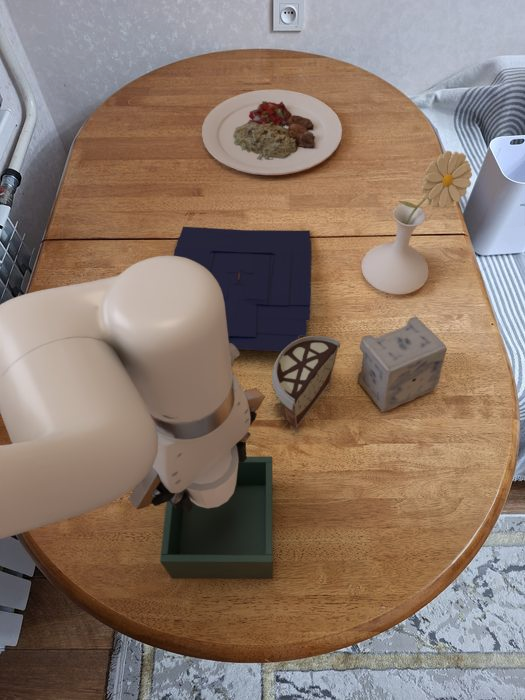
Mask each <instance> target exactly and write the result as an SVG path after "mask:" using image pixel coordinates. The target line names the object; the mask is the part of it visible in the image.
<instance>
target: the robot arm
mask: <svg viewBox="0 0 525 700" xmlns="http://www.w3.org/2000/svg"><path fill="white" fill-rule="evenodd" d="M239 356H240V351H239V349H237V348H236V347H235V346H234V345H233V344H232V343H229V339H228V330H227V321H226V312H225V303H224V298H223V294H222V290H221V288H220V286H219V284H218V282H217V280H216V279H215V278H214V276H213V275H212V274H211V273H210V272H209V271H208V270H207V269H206V268H205V267H203V266H202V265H200V264H198V263H197V262H195V261H192V260H190V259H187V258H184V257H179V256H173V255H157V256H152V257H149V258H145V259H142V260H140V261H138V262H135V263H133V264H131V265H130V266H129V267H128V268H126V269H125V270H123V271H122V272H121V273H119V274H118V275H115V276H111V277H110V276H109V277H105V278H100V279H96V280H92V281H85V282H80V283H74V284H68V285H64V286H63V285H62V286H58V287H57V286H56V287H51V288H46V289H41V290H35V291H33V292H29V293H24V294H22V295H18V296H16V297H12V298H11V299H10V298H9V299H8V300H6V301H4V302H3V303H1V304H0V415H1V418H2V421H3V424H4V427H5V429H6V432H7V434H8V438H9V439H10V442H11V443H10V444H1V445H0V540H2V539H6V538H9V537H13V536H16V535H21V534H24V533H26V532H31V531H33V530H37V529H40V528H43V527H47V526H51V525H54V524H57V523H59V522H60V523H61V522H63V521H66V520H70V519H73V518H76V517H79V516H81V515H84V514H87V513H90V512H92V511H94V510H97V509H99V508H102V507H105V506H107V505H109V504H111V503H113V502H115V501H117V500H118V499H121V498H122V497H123V496H125V495H127V494H128V493H129V492H131V491H132V492H131V494H130V495H129V497H128V501H129V502H130V503H131V504H132V505H133V507H134V508H135V509H136V510H141V509H144V508H148V507H150V506H151V505H153V507H157V506H160V505H163V504H166V502H168V501H169V502H170V503H171V504H172V505H173V506H174V507H175V508H176V509H177V508H178V507H180V506H182V507H183V508H184V509H185V510H186V511H187V512H188V513H189V512H190V511H191V510H192V507H193V505H192V503H191V500H190V497H189V495H188V494H187V493H186V492H185V489H186V488H187V487H188V486H190V485H191V484H192V483H193V482H194V481H196V480H197V479H198V478H199V477H200V476H201V475H202V474H204V473H205V472H206V471H207V470H208V469H209V468H210V467H211V466H212V465H214V464H215V463H216V462H217V461H218V460H219V459H220V458H221V457H222V456H224V455H225V454H226V453H227V452H228V451H229V450H230V449H231V448H232V447H233V446H234V445H236V446H237V451H238V458H239V459H238V461H239V462H244V461H245V460H246V459H247V457H248V456H247V444H246V443H247V442H246V441H248V439H249V438H250V437H251V432H249V430H250V428H251V426H252V424H253V423H254V422H255V420H256V418H257V416H258V414H257V411H259V409H260V407H261V405H262V403H263V402H264V401H265V399H266V395H265V394H264V393H263V392H262V391H260V390H259V389H258V388H257V387H256V388H251V389H246V390H244V389H243V386H242V384H241V383H240V381H239V379H238V378H237V376H236V374H235V373H234V372H233V366H234V364H233V363H235V360H236V359H237V358H238V357H239Z"/></svg>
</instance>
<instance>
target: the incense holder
mask: <svg viewBox="0 0 525 700" xmlns="http://www.w3.org/2000/svg"><path fill="white" fill-rule="evenodd" d="M359 349H360V351H361V353H362V360H361V361H362V362H361V371H360V372H359V373H358V378H357V382H358V383H359V384H360V386H361V388H363V389H364V390H365V392H366V393H367V394H368V396H369V397H370V398H371V399H372V401H373V402H374V403H375V405H376V406H377V407H378V408H379V410H380V411H381V412H384V413H385V412H388V411H390V410H392V409H394V408H397V407H399V406H400V405H402V404H405V403H408V402H411V401H413V400H415V399H416V398H418V397H420V396H423V395H425V394H427V393H430V392H432V391H434V390H435V389H436V388H437V386H438V385H439V382H440V379H441V373H442V369H443V366H444V362H445V357H446V354H447V350H448V348H447V346H446V344H445V342H443V341H442V340H441V339H440V337H438V336H437V334H435V333H434V332H433V331H432V330H431V329H430V328H429V327H428V326H427V325H426V324H425V323H424V322H423V321H422V320H421V319H420V318H419V317H418V316H412V317H410V318H409V319H408V321H406V325H403V326H402V327H400V328H397V329H395V330H392V331H390V332H386V333H385V334H382V335H379V336H377V337H375V336H373V335H371V334H369V335H365V336H362V338H361V341H360V345H359Z"/></svg>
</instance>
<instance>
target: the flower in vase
mask: <svg viewBox="0 0 525 700" xmlns="http://www.w3.org/2000/svg"><path fill="white" fill-rule="evenodd" d="M425 174H426V175H425V176H424V177H423V179H422V182H423V183H422V187H421V190H420V191H421V193H422V194H423V198H422V199H421V201H419V203H418V204H417V205H416V204H414V203H412V202H409V201H407V200H406V201H405V200H399V201H398V203H401V204H399V205H397V206H395V208H393V211H392V218H393V220H394V221H395V222H396V235H395V239H394V242H393V241H391V242H383V243H381V244H378V245H375V246H374V247H372V248H371V249H369V250H368V251H367V253H366V254H365V255H364V257H363V258H362V260H361V266H360V267H361V272H362V275H363V277H364V279H365V280H366V281H367V282H368V284H370V285H371V286H372V287H373V288H375V289H376V290H378V291H380V292H382V293H386V294H389V295H406V294H410V293H413V292H415V291H418V290H419V289H420V288H422V287H423V286H424V284H426V282H427V280H428V278H429V267H428V266H429V265H428V263H427V260H426V259H425V257H424V256H423V255H422V253H420V252H419V250H417V249H415V248H414V247H412V246H411V245H410V240H411V238H412V234H413V233H414V231H415V229H416V228H417V227H418V226H420V225H421V224H423V223H424V222H425V221H426V219H427V217H426V216H427V215H426V212H425V211H424V209H423V208H421V207H420V206H421V205H422V204H423V203H424V202H425V201H426V200H427V201H426V203H427V206H431V207H432V208H436V209H437V208H440V209H450V208H451V207H452V205H454V203H457V204H458V203H460V202H461V200H462V197H465V196H466V195H467V193H468V192H467V189H468V188H470V187H471V185H472V182H471V180H470V179H471V178H472V176H473V173H472V167H471V164H470V162H469V161H468V160H467V155H466V154H465V153H463V152H458V151H454V152H452V150H445V151H444V152H443V153H441V154H439V156H438V158H437V160H432V161H431V162H430V163H429V165H428V166H427V168H426V169H425Z"/></svg>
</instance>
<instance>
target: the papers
mask: <svg viewBox="0 0 525 700" xmlns="http://www.w3.org/2000/svg"><path fill="white" fill-rule="evenodd" d="M175 245H176V246H175V248H174V252H173V255H172V256H179V257H184V258H187V259H190V260H192V261H195V262H197V263H198V264H200V265H202V266H203V267H205V268H206V269H207V270H208V271H209V272H210V273H211V274H212V275H213V276H214V278H215V279H216V280H217V282H218V284H219V286H220V288H221V290H222V294H223V298H224V303H225V312H226V321H227V330H228V339H229V343H232V344H233V345H234V346H235V347H236V348H237V349H238V350H250V351H268V352H269V351H270V352H282V351H283V350H284V349H285V348H286V347H287V346H288V345H289V344H291V343H292V342H294V341H296V340H298V339H299V337H307V331H308V330H307V328H308V321H310V320H311V305H312V303H311V301H312V300H311V299H312V298H311V297H312V241H311V230H297V229H296V230H295V229H294V230H289V229H288V230H287V229H286V230H283V229H281V230H279V229H275V230H274V229H273V230H272V229H271V230H270V229H263V230H262V229H261V230H260V229H231V228H230V229H229V228H214V227H199V226H198V227H195V226H183V227H182V228H181V231H180V235H179V236H178V238H177V241H176V244H175Z"/></svg>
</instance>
